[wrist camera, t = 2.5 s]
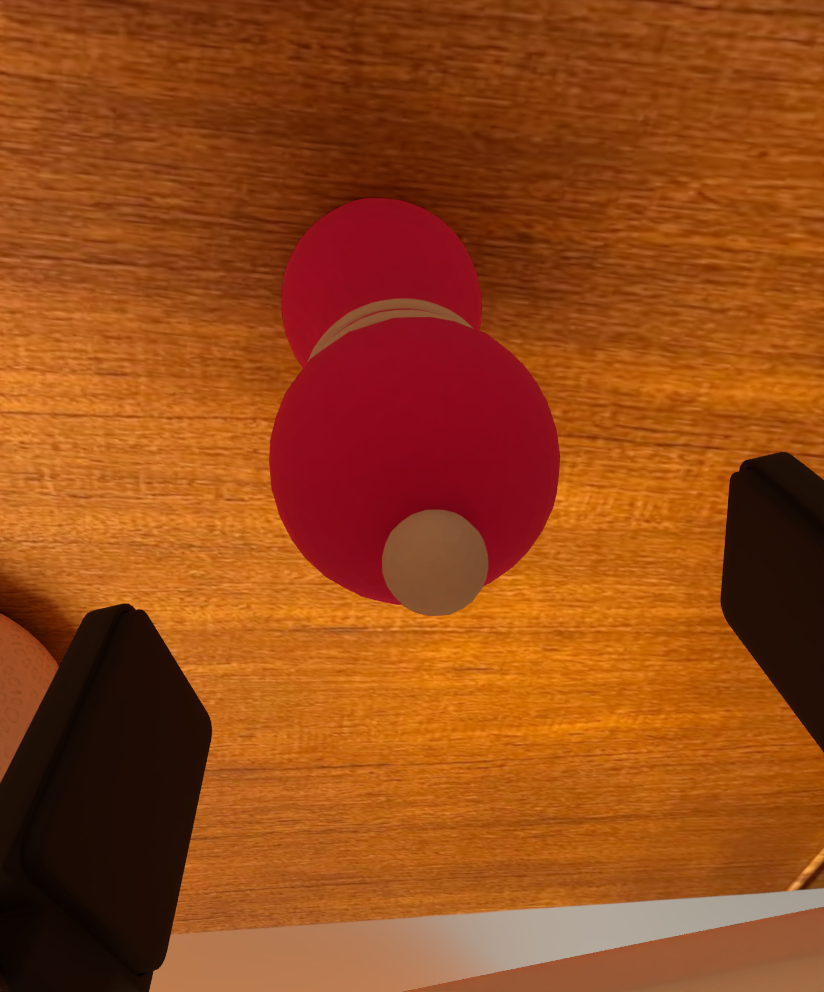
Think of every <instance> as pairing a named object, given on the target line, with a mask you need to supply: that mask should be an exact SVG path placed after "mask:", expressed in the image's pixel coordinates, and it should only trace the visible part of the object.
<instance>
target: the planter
mask: <svg viewBox="0 0 824 992" xmlns="http://www.w3.org/2000/svg"><path fill="white" fill-rule="evenodd" d="M58 668H59V666H58V664H57V662H56V661H55V660H54V658H53V657H52V656H51V654H50V653H49V652H48V651H47V649H46V648H45V647H44V646H43V645H42V644H41V643H40V642H39V641H38V640H37V639H36V638H35V637H34V636H33V635H32V634H30V633H29V632H28V631H27V630H25V629H24V628H23V627H22V626H20V625H19V624H17V623H16V622H14V621H13V620H11V619H10V618H8V617H6V616H5V615H3V614H1V613H0V783H1V781H2V779H3V777H4V775H5V773H6V771H7V769H8V767H9V765H10V763H11V761H12V759H13V757H14V755H15V753H16V751H17V749H18V747H19V745H20V743H21V741H22V739H23V737H24V735H25V733H26V731H27V729H28V727H29V725H30V723H31V721H32V719H33V717H34V715H35V713H36V711H37V709H38V707H39V705H40V703H41V701H42V700H43V698H44V696H45V694H46V692H47V690H48V688H49V686H50V684H51V682H52V680H53V678H54V676H55V674H56V672H57V670H58Z"/></svg>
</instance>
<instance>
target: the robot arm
mask: <svg viewBox="0 0 824 992" xmlns="http://www.w3.org/2000/svg"><path fill="white" fill-rule="evenodd" d="M721 607H722V611H723V614H724V616H725V619H726V621H727V622H728V624H729V625H730V627H731V628H732V629H733V631H734V632H735V633H736V635H737V636H738V637H739V639H740V640H741V641H742V643H743V644H744V645H745V647H746V648H747V649H748V651H749V652H750V653H751V655H752V656H753V658H754V659H755V660H756V662H757V663H758V664H759V666H760V667H761V668H762V670H763V671H764V672H765V674H766V675H767V676H768V678H769V679H770V680H771V682H772V683H773V684H774V686H775V687H776V689H777V690H778V691H779V693H780V694H781V695H782V697H783V698H784V699H785V701H786V702H787V703H788V705H789V706H790V707H791V709H792V710H793V711H794V713H795V714H796V715H797V717H798V718H799V720H800V721H801V722H802V724H803V725H804V726H805V728H806V729H807V730H808V732H809V733H810V734H811V736H812V737H813V738H814V740H815V741H816V742H817V744H818V745H819V746H820V748H821V749H822V751H823V752H824V480H823V479H822V478H820V477H819V476H818V475H817V474H815V473H814V472H813V471H811V470H810V469H809V468H808V467H806V466H805V465H804V464H802V463H801V462H800V461H799V460H797V459H796V458H795V457H794V456H792V455H790V454H789V453H787V452H780V453H775V454H771V455H766V456H762V457H758V458H753V459H749V460H746V461H744V462H743V463H742V464H741V466H740V470H739V472H735V473H733V474H732V476H731V478H730V484H729V497H728V510H727V523H726V536H725V549H724V562H723V575H722V588H721ZM211 737H212V726H211V720H210V717H209V715H208V713H207V711H206V710H205V708H204V706H203V705H202V703H201V701H200V700H199V698H198V697H197V695H196V693H195V692H194V690H193V688H192V687H191V685H190V683H189V682H188V680H187V679H186V677H185V675H184V674H183V672H182V670H181V669H180V667H179V665H178V664H177V662H176V661H175V659H174V657H173V656H172V654H171V652H170V651H169V649H168V647H167V646H166V644H165V643H164V641H163V639H162V638H161V636H160V634H159V633H158V631H157V630H156V628H155V626H154V625H153V623H152V621H151V620H150V618H149V616H148V615H147V614H146V612H145V611H143V610H135V609H134V607H133V606H131V605H130V604H120V605H115V606H111V607H107V608H102V609H98V610H94V611H91V612H89V613H87V614H86V616H85V617H84V618H83V620H82V622H81V624H80V626H79V628H78V630H77V632H76V634H75V636H74V638H73V640H72V642H71V644H70V646H69V648H68V650H67V652H66V654H65V656H64V658H63V660H62V662H61V664H60V666H59V668H58V670H57V672H56V674H55V676H54V678H53V680H52V682H51V684H50V686H49V688H48V690H47V692H46V694H45V696H44V698H43V700H42V701H41V703H40V705H39V707H38V709H37V711H36V713H35V715H34V717H33V719H32V721H31V723H30V725H29V727H28V729H27V731H26V733H25V735H24V737H23V739H22V741H21V743H20V745H19V747H18V749H17V751H16V753H15V755H14V757H13V759H12V761H11V763H10V765H9V767H8V769H7V771H6V773H5V775H4V777H3V779H2V781H1V783H0V992H149V989H150V984H151V980H152V975H153V971H154V970H156V969H159V967H160V966H161V965H162V963H163V961H164V959H165V956H166V953H167V949H168V944H169V939H170V934H171V930H172V925H173V920H174V915H175V911H176V906H177V901H178V896H179V891H180V887H181V882H182V877H183V872H184V867H185V863H186V858H187V853H188V848H189V843H190V839H191V834H192V829H193V824H194V819H195V815H196V810H197V805H198V800H199V795H200V791H201V786H202V781H203V776H204V771H205V767H206V762H207V757H208V752H209V747H210V743H211ZM405 992H824V907H820V908H815V909H810V910H806V911H801V912H796V913H790V914H785V915H780V916H775V917H770V918H765V919H760V920H755V921H750V922H746V923H740V924H735V925H730V926H725V927H720V928H715V929H710V930H705V931H700V932H695V933H690V934H684V935H680V936H674V937H669V938H665V939H659V940H655V941H649V942H644V943H640V944H634V945H630V946H625V947H620V948H615V949H610V950H605V951H600V952H596V953H590V954H585V955H581V956H575V957H570V958H566V959H561V960H556V961H551V962H546V963H541V964H536V965H531V966H526V967H521V968H516V969H511V970H507V971H502V972H497V973H492V974H487V975H482V976H478V977H472V978H468V979H463V980H458V981H453V982H448V983H443V984H438V985H433V986H428V987H424V988H419V989H414V990H409V991H405Z"/></svg>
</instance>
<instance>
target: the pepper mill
mask: <svg viewBox="0 0 824 992" xmlns="http://www.w3.org/2000/svg"><path fill="white" fill-rule="evenodd" d="M481 314H482V300H481V290H480V286H479V282H478V278H477V273H476V271H475V268H474V265H473V263H472V260H471V258H470V256H469V254H468V252H467V250H466V248H465V246H464V245H463V243H462V242H461V240H460V239H459V238H458V236H457V235H456V233H455V232H454V231H453V230H452V229H451V228H450V227H448V226H447V225H446V224H445V223H444V222H443V221H442V220H441V219H440V218H438V217H437V216H435V215H434V214H432V213H430V212H429V211H427V210H426V209H424V208H422V207H419V206H416V205H414V204H411V203H408V202H405V201H401V200H394V199H386V198H365V199H358V200H355V201H352V202H349V203H346V204H344V205H342V206H340V207H338V208H337V209H334V210H333V211H331V212H330V213H328V214H326V215H325V216H323V217H322V218H320V219H319V220H318V221H317V222H316V223H315V224H314V225H313V226H312V227H311V228H309V229H308V230H307V232H306V233H305V234H304V235H303V237H302V238H301V239H300V241H299V242H298V243H297V245H296V247H295V249H294V251H293V253H292V255H291V256H290V258H289V261H288V264H287V267H286V270H285V273H284V279H283V285H282V317H283V323H284V328H285V334H286V336H287V339H288V341H289V343H290V346H291V348H292V351H293V353H294V356H295V357H296V359H297V360H298V361H299V363H300V364H301V366H302V367H303V369H302V371H301V372H300V374H299V375H298V376H297V378H296V379H295V380H294V382H293V383H292V385H291V386H290V387H289V389H288V390H287V391H286V393H285V395H284V397H283V400H282V403H281V405H280V408H279V411H278V413H277V416H276V418H275V423H274V427H273V431H272V435H271V439H270V456H269V464H270V476H271V488H272V492H273V495H274V498H275V502H276V505H277V509H278V512H279V515H280V518H281V520H282V522H283V524H284V526H285V528H286V530H287V532H288V533H289V535H290V537H291V539H292V541H293V542H294V543H295V545H296V546H297V547H298V549H299V550H300V552H301V553H302V554H303V556H304V557H305V558H306V559H307V560H308V561H309V562H310V563H311V564H312V565H313V566H315V567H316V568H317V569H318V570H319V571H320V572H321V573H322V574H323V575H324V576H325V577H327V578H329V579H330V580H332V581H334V582H336V583H337V584H339V585H341V586H342V587H344V588H346V589H348V590H350V591H352V592H354V593H356V594H358V595H360V596H363V597H366V598H369V599H373V600H377V601H382V602H387V603H391V604H396V605H403V606H404V607H406V608H408V609H410V610H412V611H414V612H415V613H419V614H423V615H428V616H440V615H449V614H452V613H454V612H456V611H458V610H461V609H463V608H464V607H466V606H467V605H468V604H470V603H471V602H472V601H473V600H474V598H475V597H476V596H477V594H478V593H479V592H480V590H481V589H482V587H483V586H485V585H487V584H489V583H491V582H492V581H494V580H495V579H496V578H498V577H499V576H501V575H502V574H504V573H505V572H506V571H508V570H509V569H511V568H512V567H513V566H514V565H515V564H516V563H517V562H518V561H519V560H520V559H521V558H522V557H523V556H524V555H525V554H526V553H527V552H528V551H529V550H530V548H531V547H532V545H533V544H534V542H535V541H536V539H537V538H538V536H539V535H540V534H541V532H542V531H543V529H544V527H545V524H546V522H547V520H548V518H549V515H550V513H551V511H552V509H553V506H554V502H555V498H556V494H557V486H558V478H559V465H560V452H559V445H558V437H557V430H556V427H555V424H554V421H553V418H552V415H551V412H550V409H549V406H548V403H547V401H546V399H545V397H544V395H543V393H542V391H541V389H540V387H539V386H538V384H537V382H536V381H535V379H534V378H533V377H532V375H531V374H530V373H529V371H528V370H527V368H526V367H525V366H524V365H523V364H522V363H521V362H520V361H519V360H518V359H517V358H516V357H515V356H514V355H513V354H512V353H511V352H510V351H508V350H507V349H506V348H505V347H503V346H502V345H501V344H499V343H498V342H497V341H495V340H494V339H493V338H491V337H490V336H489V335H487V334H486V333H483V332H481V331H479V329H480V324H481Z"/></svg>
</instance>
